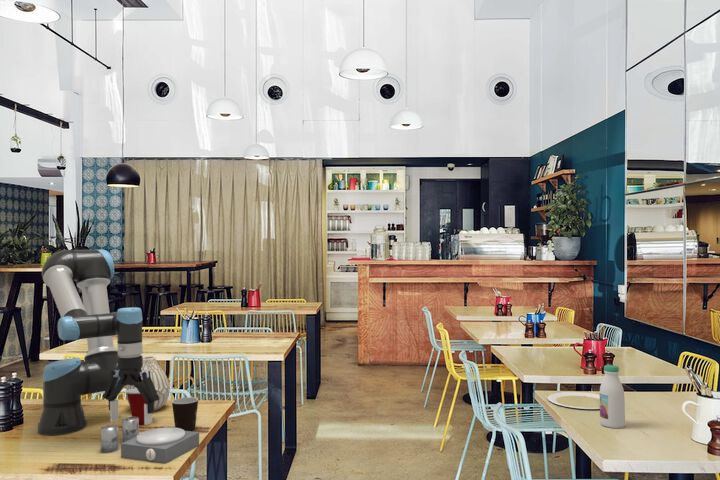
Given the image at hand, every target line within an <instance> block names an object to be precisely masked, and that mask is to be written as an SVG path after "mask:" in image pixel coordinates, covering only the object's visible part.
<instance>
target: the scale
mask: <svg viewBox="0 0 720 480" xmlns="http://www.w3.org/2000/svg"><path fill="white" fill-rule="evenodd" d="M199 446H200V431H184V430H183V429H180V428H175V426H173V427H172V426H171V427H169V426H168V427H155V428H152V429H148V430H145V431H142V432H139V435H137V437H135V438H133V439H130V440H128V441H126V442H121V443H120V458H126V459H132V460H140V461H146V462H153V463H161V464H167V463H169V462H171V461H172V460H175V459H177V458H178V457H180V456H182V455H184V454H185V453H187V452H190V451H191V450H193V449H195V448H197V447H199Z"/></svg>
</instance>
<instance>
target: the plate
mask: <svg viewBox="0 0 720 480" xmlns="http://www.w3.org/2000/svg"><path fill="white" fill-rule="evenodd" d="M567 396H571V397H572V396H573V397H576V396H577V397H588V398H594V399H598V400H600V394H599V393H593V392H591V393H590V392H583V391H563V392H555V393H552V394H550V395H548V397H547V400H548V402H550V403H551V404H554V405H557V406H559V407H563V408H569V409H576V410H584V411H585V410H586V411H587V410H589V411H590V410H591V411H593V410H594V411H598V410H599V411H600V407H581V406H571V405H565V404H562V403H559V402H558V401H557V399H558V398H562V397H567Z"/></svg>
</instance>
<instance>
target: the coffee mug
mask: <svg viewBox="0 0 720 480" xmlns="http://www.w3.org/2000/svg"><path fill="white" fill-rule="evenodd" d="M171 405H172V414H173V421H174V428H180V429H183V430H184V431H192V432H195V431H196V423H197V416H198V415H197V414H198V405H199V398H198V397H191V396H188V397H185V396H184V397H179V398H175V399H173V400H172V401H171Z"/></svg>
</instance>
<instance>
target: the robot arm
mask: <svg viewBox="0 0 720 480" xmlns="http://www.w3.org/2000/svg"><path fill="white" fill-rule="evenodd" d="M114 276H115V263H114V260H113V257H112V255H111V254H110V252H109V251H107V250H105V249H97V248H95V249H63V250H59V251H56V252H55V253H53V254H52V255H50V256H49V257H48V258H47V259H46V260H45V261H44V264H43V265H42V268H41V277H42V280H43V283H44V284H45V285H46V286H47V287H48V288H49V290H50V292H51V294H52V297H53V300H54V302H55V305H56V307H57V310H58V313H59V315H60V318H59V319H58V321H57V334H58V338H59V339H60V340H62V341H76V340H84V339H86V341H87V350H88V352H87V353H86V354H85V355H84V360H83V361H82V360H81V358H79V357H71V358H63V359H60V360H55V361H53V362H51V363H48V364H47V365H45V366H44V367H43V374H42V389H43V390H42V403H43V404H42V405H43V406H42V413H41V414H40V415H41V416H40V419H39V422H38V423H37V430H36V431H37V434H38V435H42V436H58V435H66V434H71V433H75V432H77V431H81V430H83V429H85V428H86V427H87V426H88V424H87V423H88V421H87V416H86V415H85V411H84V408H83V406H82V396H85V395H92V394H97V393H102V392H104V393H103V396H102V398H103V399H104V400H105V399H106V400H107V401H108V410H109V415H110V416H109V417H110V419H109V420H110V423H112V422H113V423H114V422H115V421H118V420H119V400H118V396H119V395H120V393H121V391H122V390H123V389H124V387H125V386H127V385H130V386H133V385H134V387H136V388H137V389H138V391H139V392H140V394H141V395H142V397H143V398H144V400H145V401H146V403H145V404H144V426H147V425H150V424H152V423H153V413H154V412H155V411H154V402H155V401H157V400H159V397H158V394H157V392H156V389H155V387H154V384H153V382H152V380H151V375H150V371H146V372H142V370H141V368H142V366H143V357H144V356H143V312H142V309H141V307H122V308H118V309H117V311H113V312H110V306H109V305H110V303H109V298H108V297H109V296H108V289H107V287H108V285H110V283H111V280H112V279H113V277H114ZM75 283H76V286H75ZM77 288H79V289H80V290H81V294H82V299H81V297H80V295H79V292H78V290H77ZM113 336H116V337H117V338H116V340H117V341H116V342H117V348H115V347H114V345H115V344H114V338H113ZM142 379H143V380H142ZM138 382H139V383H138Z"/></svg>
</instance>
